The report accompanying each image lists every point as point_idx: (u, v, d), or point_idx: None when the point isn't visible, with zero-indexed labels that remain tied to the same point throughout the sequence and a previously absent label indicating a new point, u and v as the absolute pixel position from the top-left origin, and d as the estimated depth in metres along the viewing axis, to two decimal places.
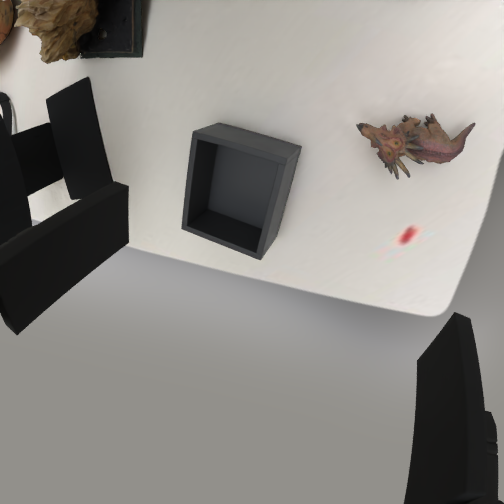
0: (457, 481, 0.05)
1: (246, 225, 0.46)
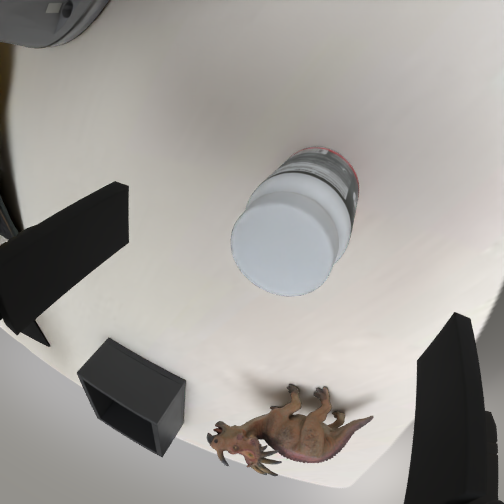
0: (457, 481, 0.05)
1: None
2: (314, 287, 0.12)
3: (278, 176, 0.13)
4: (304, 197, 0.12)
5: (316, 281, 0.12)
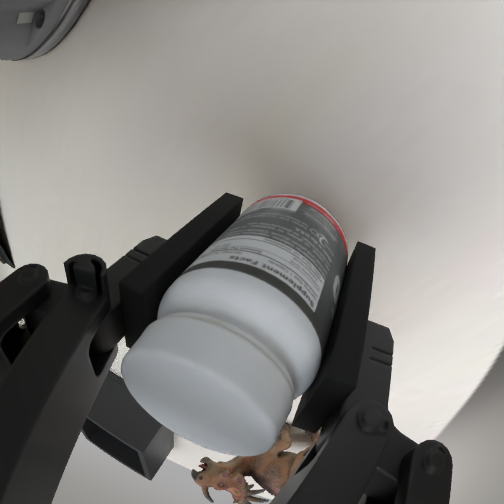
0: (325, 369, 0.07)
1: None
2: (251, 454, 0.07)
3: (197, 274, 0.08)
4: (227, 334, 0.06)
5: (252, 450, 0.07)
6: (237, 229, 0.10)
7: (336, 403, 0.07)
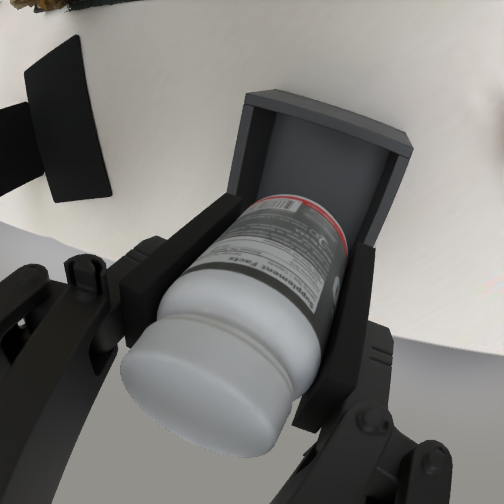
0: (325, 369, 0.07)
1: None
2: (250, 456, 0.07)
3: (197, 276, 0.08)
4: (227, 336, 0.06)
5: (252, 452, 0.07)
6: (236, 230, 0.10)
7: (336, 403, 0.07)
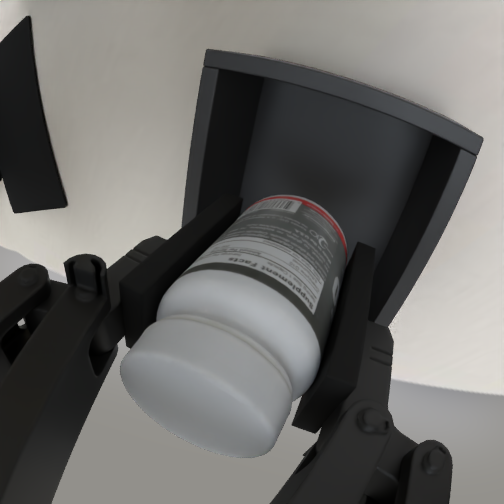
0: (325, 369, 0.07)
1: None
2: (250, 456, 0.07)
3: (196, 276, 0.08)
4: (226, 337, 0.06)
5: (251, 452, 0.07)
6: (236, 231, 0.10)
7: (336, 403, 0.07)
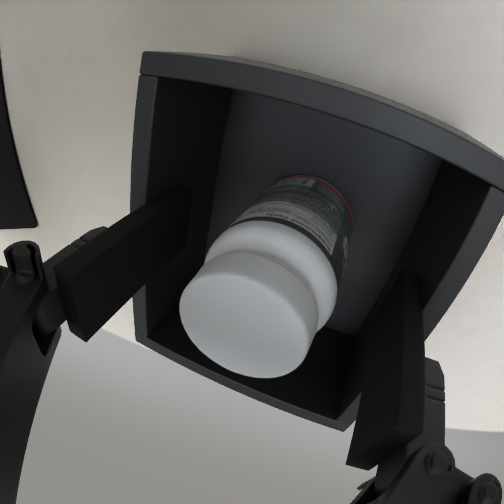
0: (391, 415, 0.06)
1: None
2: (284, 372, 0.09)
3: (242, 225, 0.10)
4: (271, 261, 0.09)
5: (287, 366, 0.09)
6: (267, 198, 0.12)
7: (398, 446, 0.06)
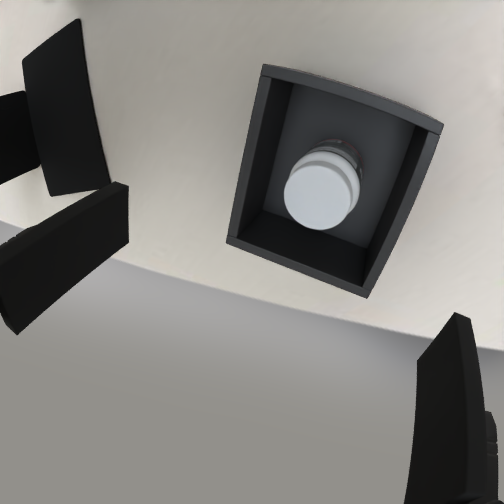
0: (457, 481, 0.05)
1: (329, 237, 0.28)
2: (338, 221, 0.19)
3: (312, 153, 0.20)
4: (331, 164, 0.18)
5: (340, 217, 0.18)
6: (318, 146, 0.22)
7: None
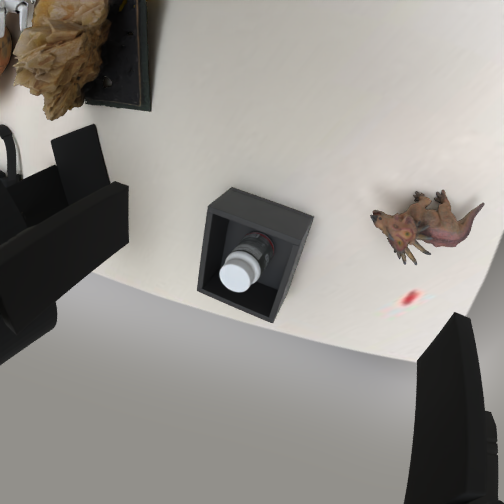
0: (457, 481, 0.05)
1: (258, 285, 0.48)
2: (245, 289, 0.39)
3: (235, 252, 0.40)
4: (241, 261, 0.38)
5: (246, 287, 0.39)
6: (243, 242, 0.42)
7: None
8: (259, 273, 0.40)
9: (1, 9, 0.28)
